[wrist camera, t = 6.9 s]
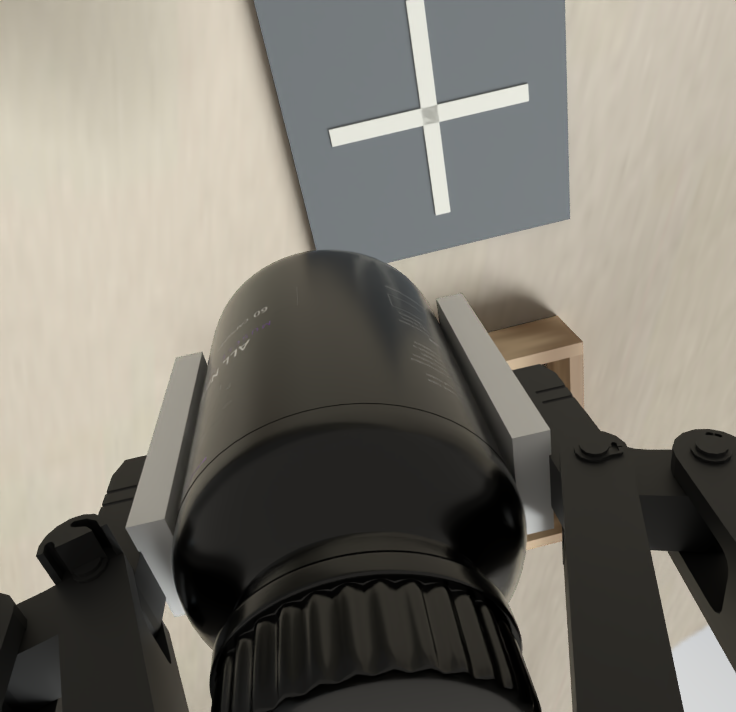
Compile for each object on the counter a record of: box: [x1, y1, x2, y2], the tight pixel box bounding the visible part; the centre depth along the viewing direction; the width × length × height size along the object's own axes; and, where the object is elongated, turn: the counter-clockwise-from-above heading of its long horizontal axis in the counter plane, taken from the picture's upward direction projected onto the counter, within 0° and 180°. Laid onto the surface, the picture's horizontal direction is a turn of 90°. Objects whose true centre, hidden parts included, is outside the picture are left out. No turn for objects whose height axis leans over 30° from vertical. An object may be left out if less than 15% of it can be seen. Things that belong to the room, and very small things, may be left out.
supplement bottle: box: [171, 250, 541, 712], centre depth 13 cm, size 7×7×12 cm
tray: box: [488, 316, 584, 550], centre depth 39 cm, size 17×16×4 cm
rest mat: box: [254, 0, 570, 263], centre depth 30 cm, size 14×14×1 cm
